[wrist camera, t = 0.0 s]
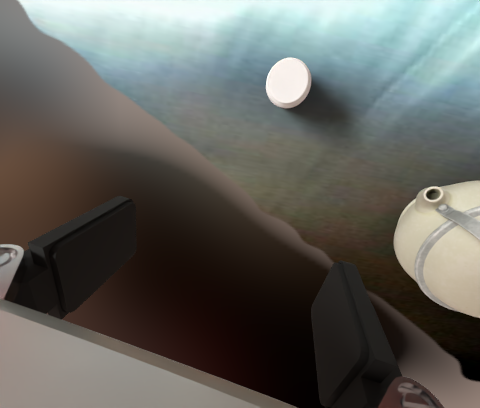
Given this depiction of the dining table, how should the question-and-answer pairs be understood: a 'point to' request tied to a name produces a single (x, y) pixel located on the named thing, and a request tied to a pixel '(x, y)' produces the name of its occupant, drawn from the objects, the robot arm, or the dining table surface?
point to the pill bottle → (288, 83)
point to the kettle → (443, 245)
